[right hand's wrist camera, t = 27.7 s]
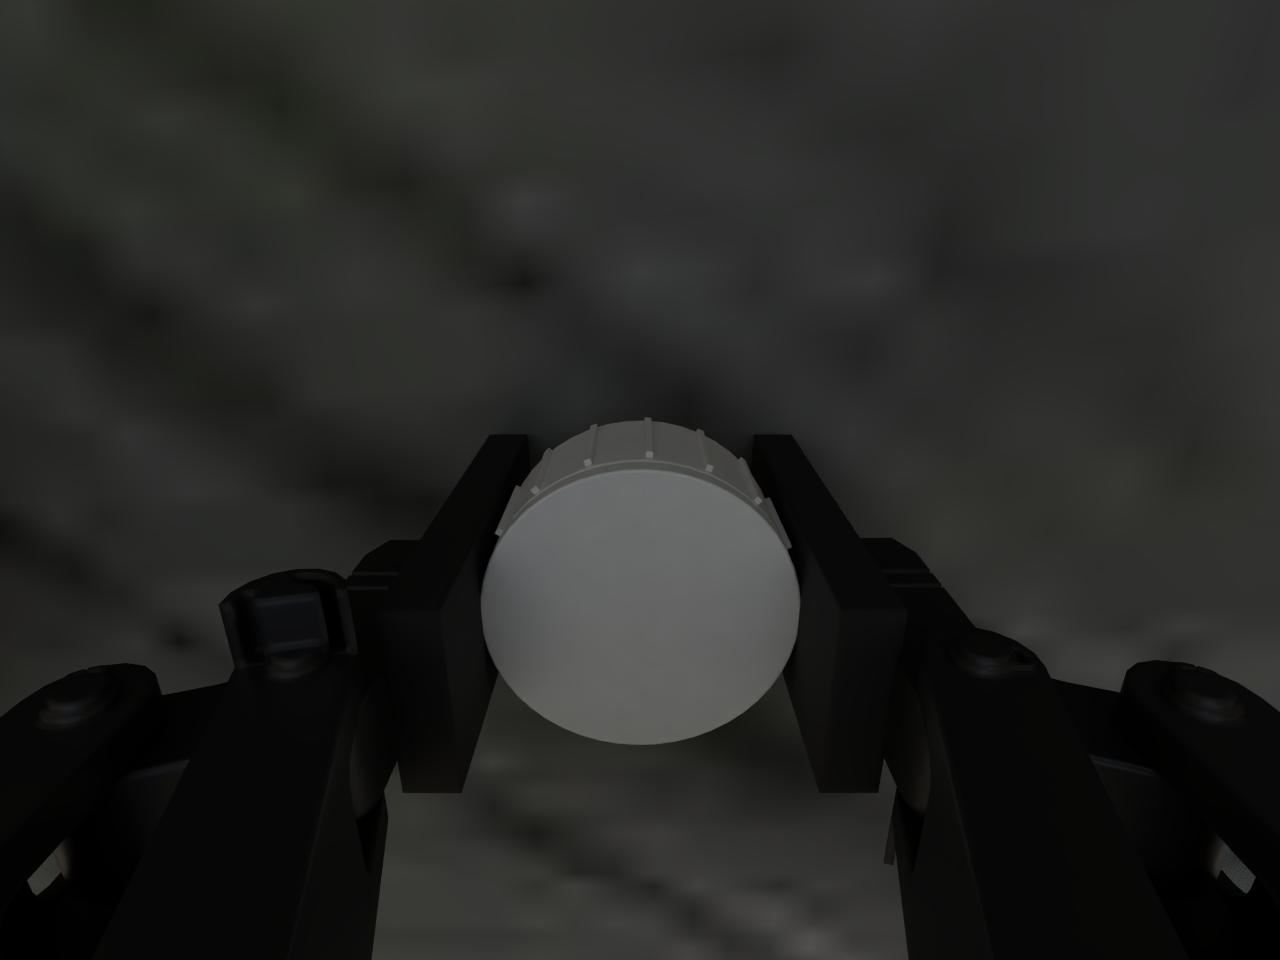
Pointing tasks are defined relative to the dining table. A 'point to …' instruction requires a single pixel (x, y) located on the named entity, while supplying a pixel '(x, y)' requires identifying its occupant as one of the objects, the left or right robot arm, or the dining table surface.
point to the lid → (640, 586)
